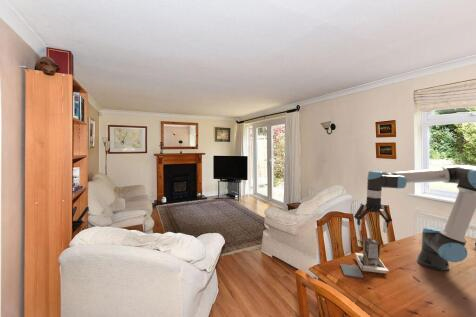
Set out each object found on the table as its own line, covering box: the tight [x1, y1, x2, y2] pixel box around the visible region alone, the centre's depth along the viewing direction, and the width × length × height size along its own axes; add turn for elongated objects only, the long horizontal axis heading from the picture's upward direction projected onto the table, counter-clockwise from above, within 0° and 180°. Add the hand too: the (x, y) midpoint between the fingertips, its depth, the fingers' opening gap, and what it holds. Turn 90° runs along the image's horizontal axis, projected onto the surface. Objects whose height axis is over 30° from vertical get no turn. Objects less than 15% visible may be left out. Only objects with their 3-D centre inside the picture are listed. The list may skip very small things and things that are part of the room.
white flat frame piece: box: [354, 252, 390, 274], centre depth 143 cm, size 13×19×3 cm
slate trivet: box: [339, 263, 365, 279], centre depth 137 cm, size 10×12×1 cm
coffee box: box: [362, 237, 381, 267], centre depth 143 cm, size 9×6×16 cm
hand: (372, 231), depth 142 cm, fingers open, 13 cm apart
